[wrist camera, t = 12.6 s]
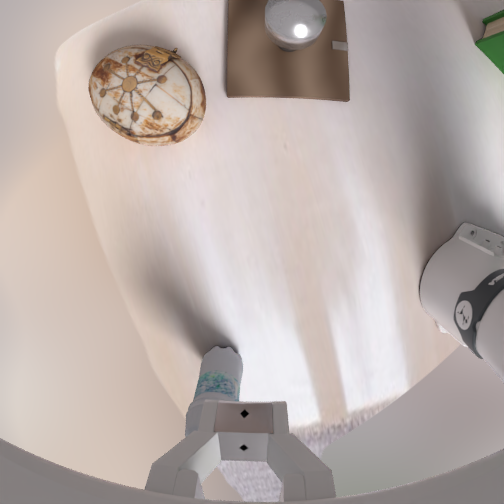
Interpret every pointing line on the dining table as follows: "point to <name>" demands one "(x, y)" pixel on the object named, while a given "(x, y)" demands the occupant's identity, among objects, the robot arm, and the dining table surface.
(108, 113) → the trinket box
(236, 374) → the bottle
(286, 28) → the lever handle
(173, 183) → the dining table surface
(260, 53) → the base
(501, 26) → the hardback book
